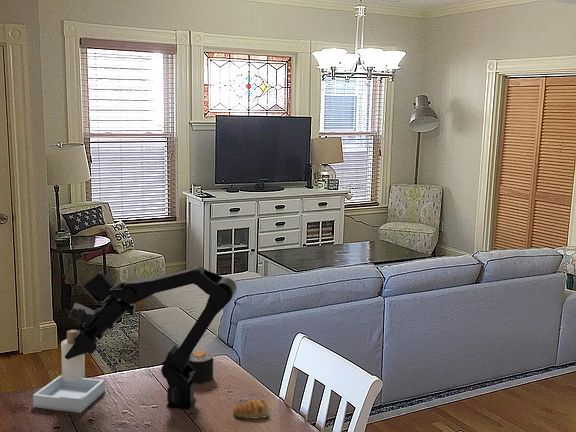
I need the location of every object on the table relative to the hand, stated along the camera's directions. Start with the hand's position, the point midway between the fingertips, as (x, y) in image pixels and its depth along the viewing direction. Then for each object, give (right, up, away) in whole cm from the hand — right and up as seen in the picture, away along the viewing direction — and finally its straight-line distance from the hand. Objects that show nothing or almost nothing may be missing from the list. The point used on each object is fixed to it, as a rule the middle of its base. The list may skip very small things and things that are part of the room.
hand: (67, 353), depth 178 cm
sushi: (+33, -12, +21) cm, 41 cm away
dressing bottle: (+1, -7, +1) cm, 7 cm away
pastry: (+51, -16, -2) cm, 54 cm away
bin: (-1, -14, +4) cm, 14 cm away
